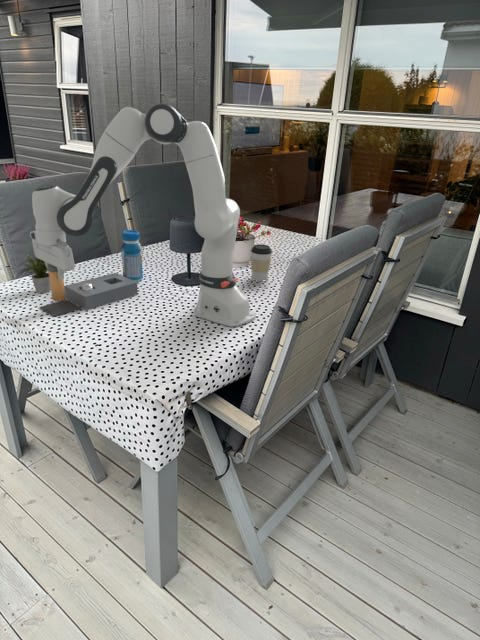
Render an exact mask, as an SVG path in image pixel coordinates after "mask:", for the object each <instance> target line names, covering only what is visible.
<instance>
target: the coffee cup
mask: <svg viewBox="0 0 480 640" xmlns="http://www.w3.org/2000/svg"><path fill="white" fill-rule="evenodd" d="M250 252H251V255H250V259H251V260H250V264H251V265H250V268H251V280H252V279H254V280H257V281H263V280H266V279H267V280H268V275H269V271H270V266H271V259H272V253H273V251H272V249H271V247H270V246H269V245H267V244H254V245H253V246H252V247H251V249H250ZM254 280H253V281H254ZM267 280H266V281H267ZM257 281H256V282H257Z"/></svg>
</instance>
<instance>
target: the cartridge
mask: <svg viewBox="0 0 480 640" xmlns="http://www.w3.org/2000/svg"><path fill="white" fill-rule="evenodd" d="M47 269H48V270H47V271H49V279H50V286H51V291H50V293H51V299H52V301H54V302H59V301H62V300H67V299H66V295H65V287H64V286H65V278H64V279H61V280H60V279H58V278H57V274H58V270H57V267H55V266H53V265H51V264H49V265H48V266H47Z"/></svg>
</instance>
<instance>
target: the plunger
mask: <svg viewBox="0 0 480 640" xmlns="http://www.w3.org/2000/svg"><path fill="white" fill-rule="evenodd" d="M91 289H92V283H83V284H82V290H84V291H88V290H91Z"/></svg>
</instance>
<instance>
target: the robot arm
mask: <svg viewBox="0 0 480 640" xmlns="http://www.w3.org/2000/svg"><path fill="white" fill-rule="evenodd" d="M148 140H151V141H153V142H156V143H158V144H161V145H167V146H168V145H172V144H175V145H177V147H179V149H180V151H181V154H182V157H183V159H184V163H185V166H186V170H187V175H188V177H189V178H188V179H189V181H190V185H191V190H192V195H193V196H192V197H193V203H194V212H195V213H194V215H195V216H194V229H195V231H196V232H197V234H198V235H199V236H200V237H202V238H204V242H203V244H202V248H201V253H200V254H201V255H200V256H201V258H200V259H201V260H200V261H201V262H200V272H199V283H200V285H199V287H200V288H199V292H198V299H197V304H196V306H195V311H196V312H195V317H198V318H200V319H203V320H207V321H210V322H214V323H217V324H221V325H223V326H226V327H229V328H230V327H239V325H240V326H242V324H243V325H246V324H247V323H251V322H252V321H253V320H254V319H256V315H257V314H256V312H254V311H253V310H250V301H249V299H248V297H247V296H246V294H244V293H243V292H242V291H241V290H240V288H239V287H238V286H237V283H236V282H238V281H239V277H237V278H235V274H234V272H233V269H234V268H233V267H234V266H233V265H234V251H235V245H236V240H237V239H236V238H237V234H238V227H239V220H240V217H241V209H240V206H239V205H238V203H237V201H235V200H234V199H232V198H227V196H226V186H225V185H226V184H225V183H226V177H225V173H224V169H223V166H222V162H221V158H220V156H219V151H218V148H217V145H216V141H215V139H214V137H213V134H212V132H211V130H210V128H209V126H208V125H207V123H205V122H203V121H200V120H193V121H187V120H186V119H185V117H183V116H182V114H180V113H179V111H178V110H177V109H176V108H175V107H173V106H172V105H170V104H168V103H163V102H162V103H161V102H159V103H156V104H153V105H152V106H150V107H149V109H148V110H147V112H146V113H144V112H143V113H142V112H141V111H140V110H138V109H137V108H134V107H132V106H131V107H130V106H127V107H123V108H122V109H121V110H120V111H119V112H118V113H117V114H116V115H115V116H114V117H113V118H112V120H111V121H110V122H109V123H108V125H107V127H106V128H105V130H104V131H103V133H102V134H101V136H100V138H99V140H98V143H97V145H96V147H95V151H94V155H93V159H92V163H91V166H90V171H89V173H88V174H87V177H86V179H85V180H84V182H83V184H82V185H81V186H80V188H79V190H78V191H77V193H76V194H73V193H70V192H68V191H67V190H64V189H62V188H60V186H58V185H56V184H47V185H41V186H39V187H37V188H35V189H34V190H33V192H32V193H31V194H32V196H31V199H32V200H31V204H32V205H31V206H32V213H33V216H34V219H35V226H34V229H35V230H33V231H32V230H31V231H30V232H29V236H30V238H31V239H32V240H31V242H32V248H33V254H34V255H35V258H36V257H37V258H38V259H40V261H41V260H43V261H45V265H46V267H47V266H48V265H49V264H51V265H53V266H55V267H57V270H58V274H57V278H58V279H60V280H61V279H64V280H65V272H70V271H73V270H74V269H75V260H74V255H73V249H72V248H71V247H70V246H69V245H68V243H67V235H69V236H71V237H72V236H73V237H79V236H83V235H85V234H87V233H88V232H89V230H90V229H91V226H92V223H93V216H94V211H95V209H96V207H97V205H98V203H99V202H100V201H101V199H102V197H103V195H104V193H105V192H106V190H107V189H108V187H109V186H110V185H111V183H112V182H113V181H114V180H115V179H116V178H117V177H118V176H119V175H120V174H121V173H122V172H123V171H124V170H125V169H126V167H127V166H128V165H129V164H130V163H131V161H132V160H133V159H134V158H135V156H136V154H137V153H138V151H139V149H140V148H141V146H142V145H143V144H144V143H145V142H146V141H148ZM66 234H67V235H66ZM47 271H48V270H47ZM47 273H48V274H49V271H48V272H47ZM245 323H246V324H245Z"/></svg>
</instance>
